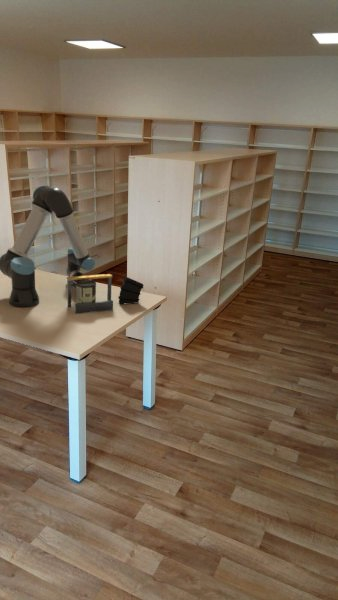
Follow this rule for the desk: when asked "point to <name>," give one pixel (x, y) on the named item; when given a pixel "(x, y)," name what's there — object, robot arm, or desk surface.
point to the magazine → (130, 291)
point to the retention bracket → (91, 305)
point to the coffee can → (85, 291)
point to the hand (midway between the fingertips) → (88, 291)
